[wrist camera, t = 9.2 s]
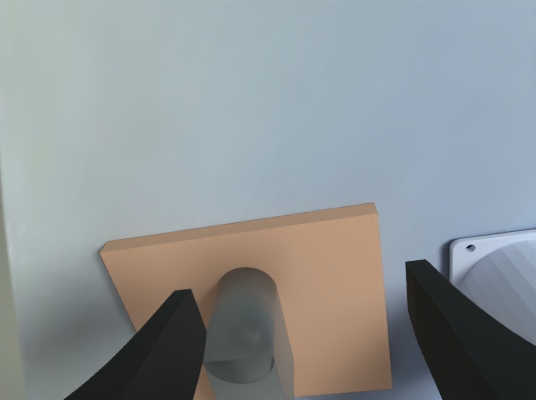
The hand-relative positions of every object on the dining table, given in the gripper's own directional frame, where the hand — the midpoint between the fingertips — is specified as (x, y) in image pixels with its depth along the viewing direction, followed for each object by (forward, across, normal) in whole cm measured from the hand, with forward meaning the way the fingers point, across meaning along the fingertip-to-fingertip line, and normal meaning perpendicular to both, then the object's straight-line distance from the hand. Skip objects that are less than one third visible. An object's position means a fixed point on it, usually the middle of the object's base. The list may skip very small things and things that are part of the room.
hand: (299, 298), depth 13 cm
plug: (+8, +4, +9) cm, 13 cm away
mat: (+9, +4, +9) cm, 14 cm away
